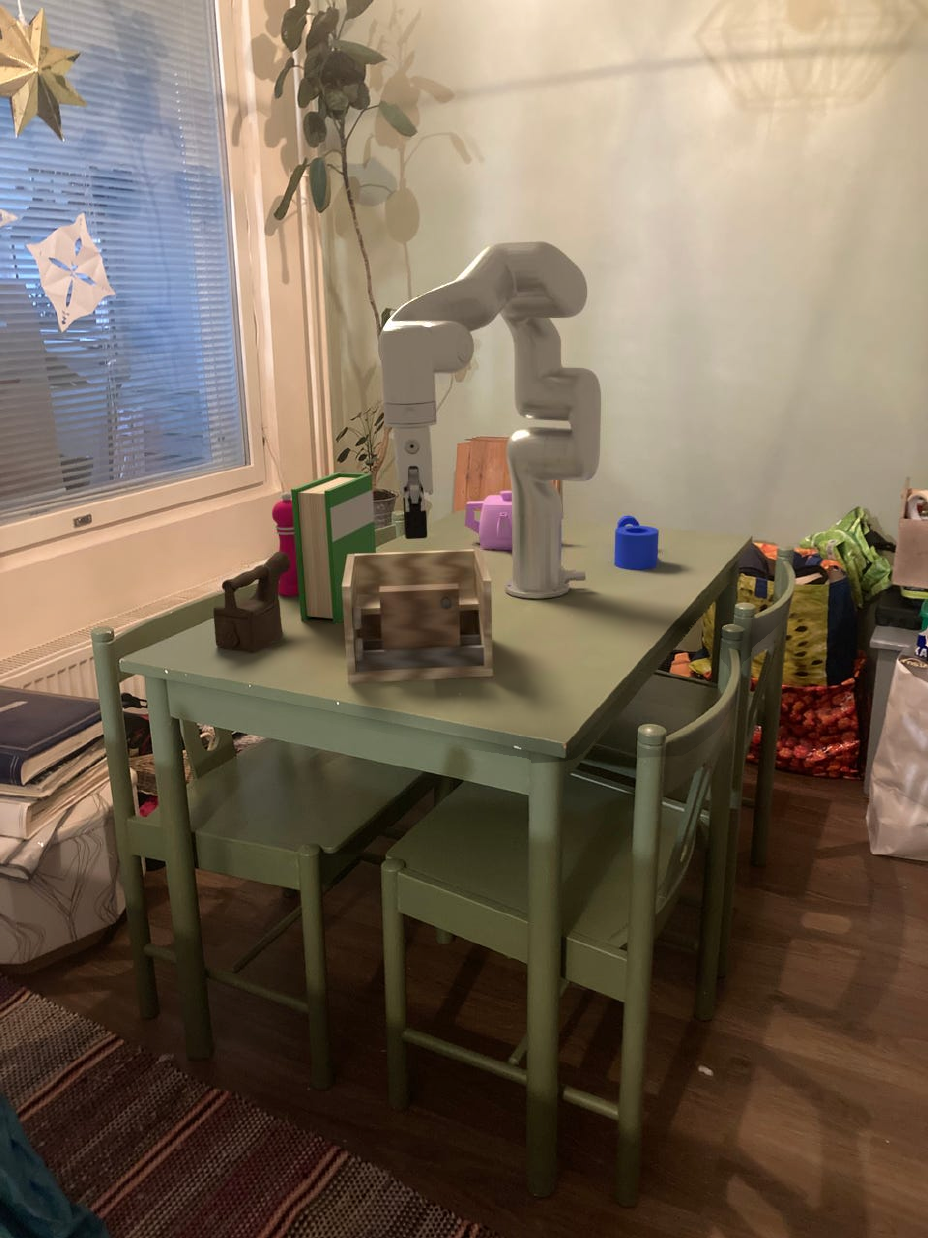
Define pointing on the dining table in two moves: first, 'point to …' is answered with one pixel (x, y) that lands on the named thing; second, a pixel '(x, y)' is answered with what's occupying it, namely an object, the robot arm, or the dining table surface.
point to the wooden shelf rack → (416, 569)
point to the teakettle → (492, 521)
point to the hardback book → (330, 537)
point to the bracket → (635, 545)
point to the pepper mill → (286, 544)
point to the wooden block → (419, 616)
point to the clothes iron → (252, 608)
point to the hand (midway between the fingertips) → (415, 530)
